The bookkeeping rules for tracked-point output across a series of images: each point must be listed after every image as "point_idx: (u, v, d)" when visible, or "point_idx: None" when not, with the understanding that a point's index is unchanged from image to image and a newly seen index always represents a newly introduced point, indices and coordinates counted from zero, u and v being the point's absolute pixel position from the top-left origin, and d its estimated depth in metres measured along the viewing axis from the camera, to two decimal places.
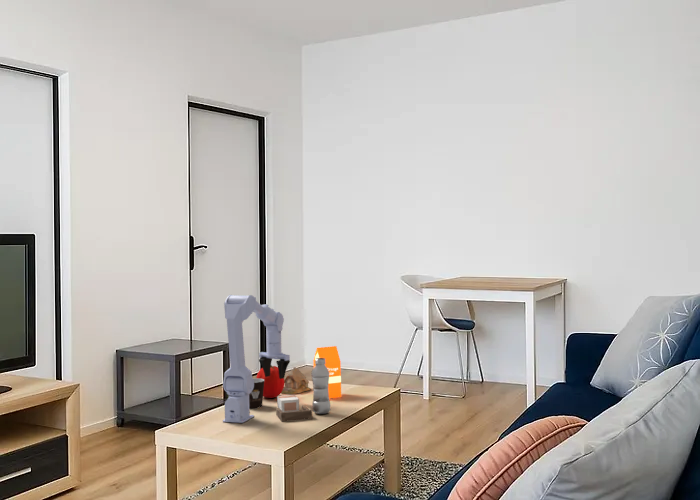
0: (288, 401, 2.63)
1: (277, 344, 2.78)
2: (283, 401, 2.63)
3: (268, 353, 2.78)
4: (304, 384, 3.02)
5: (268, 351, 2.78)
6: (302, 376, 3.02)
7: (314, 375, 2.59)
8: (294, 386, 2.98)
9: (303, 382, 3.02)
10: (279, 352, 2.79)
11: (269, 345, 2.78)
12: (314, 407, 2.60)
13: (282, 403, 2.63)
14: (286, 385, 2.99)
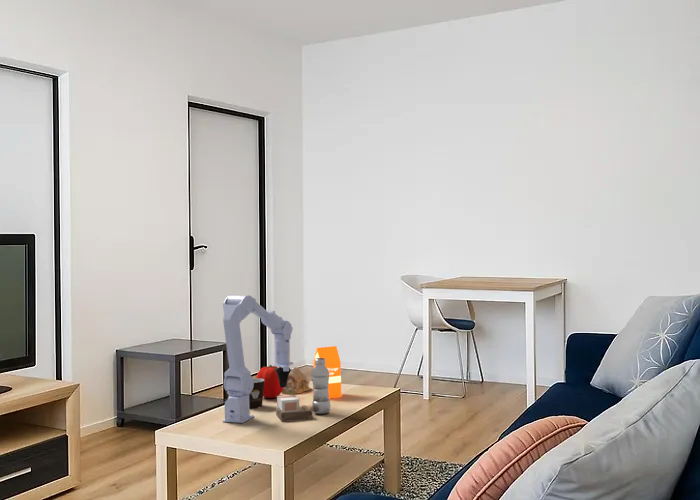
0: (288, 401, 2.64)
1: (281, 353, 2.73)
2: (283, 401, 2.63)
3: (275, 362, 2.75)
4: (305, 384, 3.02)
5: (275, 360, 2.75)
6: (303, 376, 3.02)
7: (314, 375, 2.59)
8: (295, 386, 2.98)
9: (304, 382, 3.02)
10: (284, 362, 2.73)
11: (275, 354, 2.75)
12: (314, 407, 2.60)
13: (282, 403, 2.63)
14: (287, 385, 2.99)
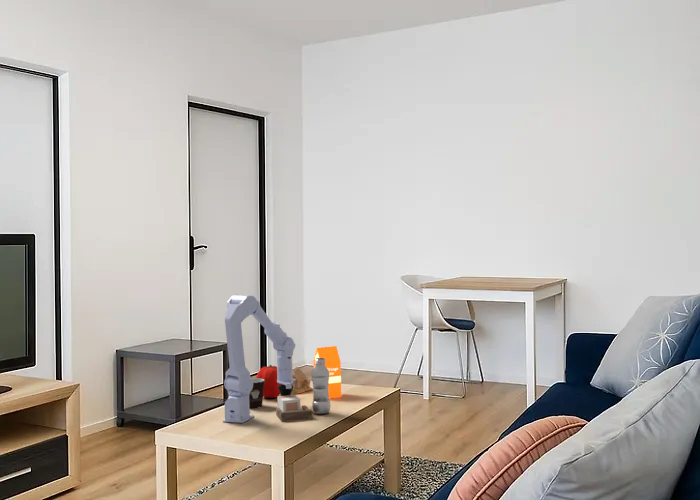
0: (290, 401, 2.62)
1: (283, 370, 2.69)
2: (285, 401, 2.62)
3: (277, 378, 2.71)
4: (306, 384, 3.02)
5: (277, 376, 2.71)
6: (304, 376, 3.03)
7: (314, 375, 2.59)
8: (296, 386, 2.98)
9: (305, 382, 3.02)
10: (286, 379, 2.69)
11: (277, 370, 2.71)
12: (314, 407, 2.60)
13: (284, 403, 2.62)
14: None
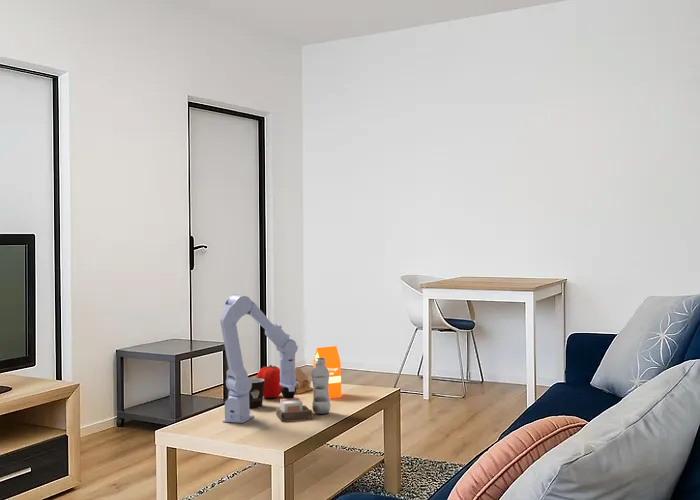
0: (291, 404, 2.57)
1: (286, 373, 2.64)
2: (286, 404, 2.57)
3: (280, 381, 2.66)
4: (306, 384, 3.02)
5: (280, 379, 2.66)
6: (304, 376, 3.03)
7: (314, 375, 2.59)
8: (297, 386, 2.98)
9: (305, 382, 3.02)
10: (289, 381, 2.64)
11: (280, 373, 2.66)
12: (314, 407, 2.60)
13: (285, 406, 2.57)
14: None
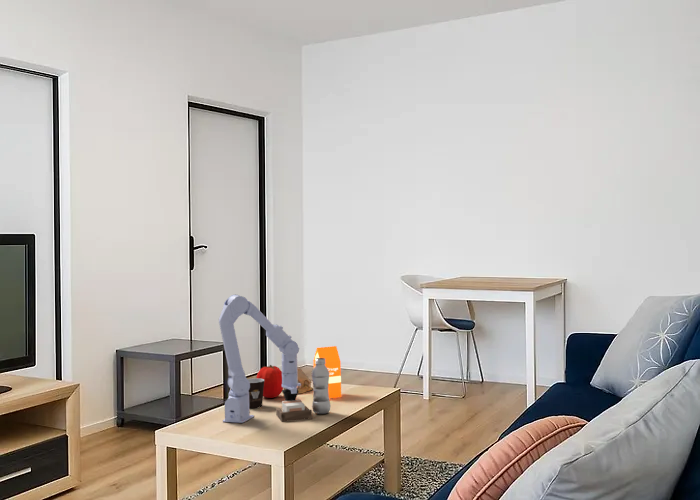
0: (293, 406, 2.54)
1: (288, 375, 2.60)
2: (288, 406, 2.54)
3: (282, 383, 2.63)
4: (307, 384, 3.02)
5: (282, 381, 2.63)
6: (305, 376, 3.03)
7: (314, 375, 2.59)
8: (298, 386, 2.98)
9: (306, 382, 3.02)
10: (291, 383, 2.60)
11: (282, 375, 2.62)
12: (314, 407, 2.60)
13: (287, 409, 2.53)
14: None
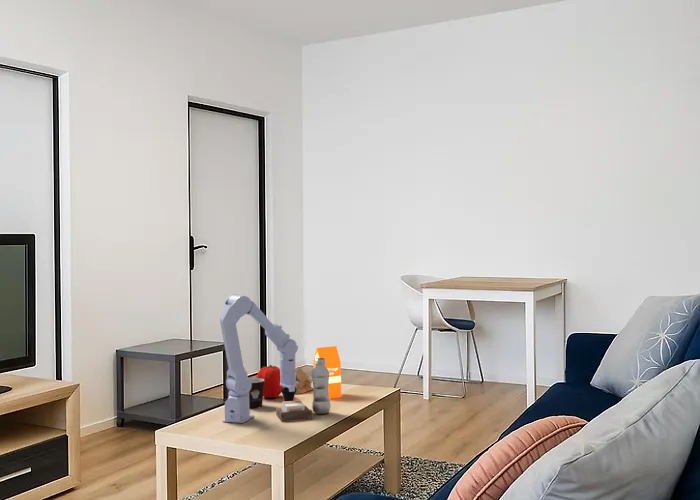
0: (293, 407, 2.54)
1: (286, 373, 2.63)
2: (288, 407, 2.54)
3: (280, 381, 2.66)
4: (307, 384, 3.02)
5: (280, 379, 2.66)
6: (305, 376, 3.03)
7: (314, 375, 2.59)
8: (298, 386, 2.98)
9: (306, 382, 3.02)
10: (289, 381, 2.64)
11: (280, 373, 2.65)
12: (314, 407, 2.60)
13: (287, 409, 2.53)
14: None
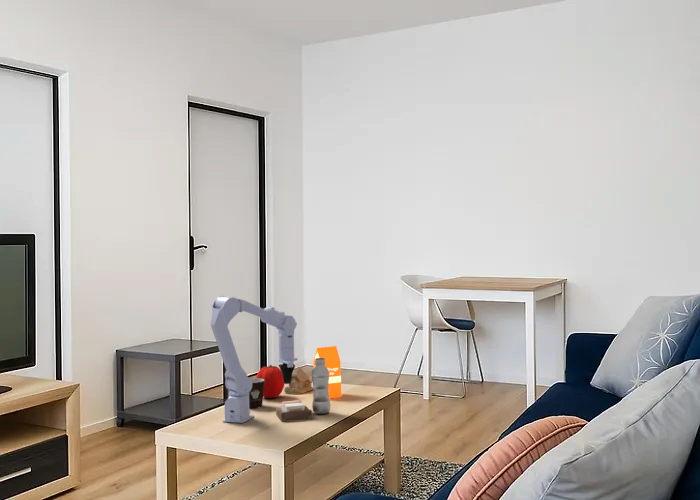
0: (293, 407, 2.54)
1: (285, 349, 2.65)
2: (288, 407, 2.54)
3: (279, 358, 2.68)
4: (308, 384, 3.02)
5: (279, 355, 2.67)
6: (306, 376, 3.03)
7: (314, 375, 2.59)
8: (298, 386, 2.98)
9: (307, 382, 3.02)
10: (288, 358, 2.65)
11: (279, 349, 2.67)
12: (314, 407, 2.60)
13: (287, 409, 2.53)
14: (290, 385, 2.99)
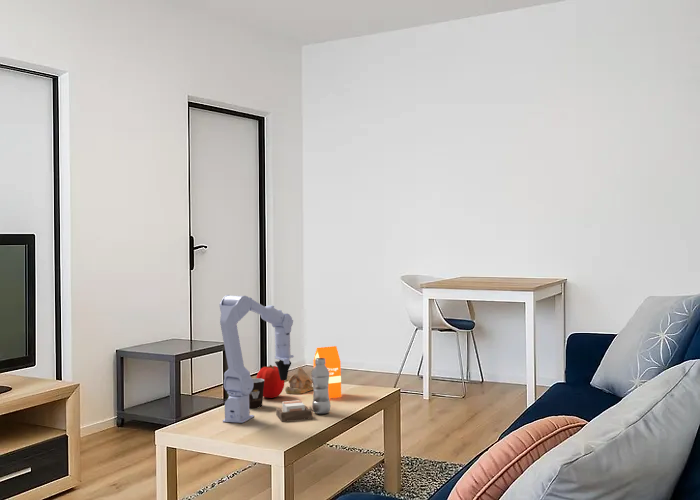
0: (293, 407, 2.54)
1: (281, 346, 2.72)
2: (288, 407, 2.54)
3: None
4: (309, 384, 3.02)
5: (275, 353, 2.74)
6: (306, 376, 3.03)
7: (314, 375, 2.59)
8: (300, 386, 2.98)
9: (308, 382, 3.02)
10: (284, 355, 2.72)
11: (275, 347, 2.74)
12: (314, 407, 2.60)
13: (287, 409, 2.54)
14: (291, 385, 2.99)
